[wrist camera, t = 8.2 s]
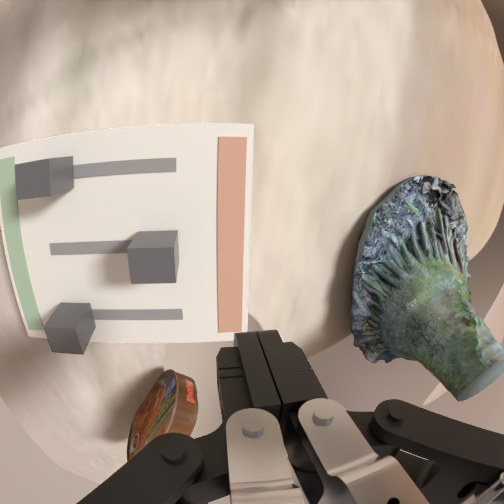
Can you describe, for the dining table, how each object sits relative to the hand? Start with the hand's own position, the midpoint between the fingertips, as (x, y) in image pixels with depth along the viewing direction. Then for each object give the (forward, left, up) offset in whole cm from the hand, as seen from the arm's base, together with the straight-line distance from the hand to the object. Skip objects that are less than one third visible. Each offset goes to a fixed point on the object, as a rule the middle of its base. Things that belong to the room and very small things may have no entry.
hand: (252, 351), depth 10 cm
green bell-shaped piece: (-22, +4, -16) cm, 27 cm away
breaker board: (+9, 0, -16) cm, 18 cm away
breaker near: (+13, -6, -13) cm, 19 cm away
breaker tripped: (+5, 0, -13) cm, 14 cm away
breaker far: (+13, +6, -13) cm, 19 cm away
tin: (+7, +20, -16) cm, 26 cm away
